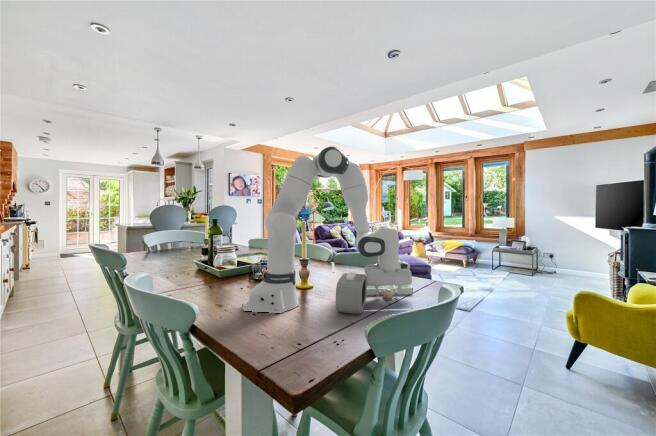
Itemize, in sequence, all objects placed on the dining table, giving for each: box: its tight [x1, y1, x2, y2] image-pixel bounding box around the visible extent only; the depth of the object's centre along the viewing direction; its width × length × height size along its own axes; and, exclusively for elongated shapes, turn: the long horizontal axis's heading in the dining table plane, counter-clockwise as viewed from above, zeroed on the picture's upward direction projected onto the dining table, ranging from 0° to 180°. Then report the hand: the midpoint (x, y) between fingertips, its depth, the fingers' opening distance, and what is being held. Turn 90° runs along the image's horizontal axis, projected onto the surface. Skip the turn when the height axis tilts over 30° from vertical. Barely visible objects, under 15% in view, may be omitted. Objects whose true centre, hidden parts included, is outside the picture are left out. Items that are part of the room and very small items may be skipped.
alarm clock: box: [335, 272, 367, 315], centre depth 111 cm, size 21×10×13 cm, turn 166°
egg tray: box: [366, 284, 414, 296], centre depth 132 cm, size 23×16×4 cm
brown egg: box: [382, 289, 394, 300], centre depth 121 cm, size 4×4×4 cm
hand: (388, 294), depth 121 cm, fingers open, 6 cm apart
